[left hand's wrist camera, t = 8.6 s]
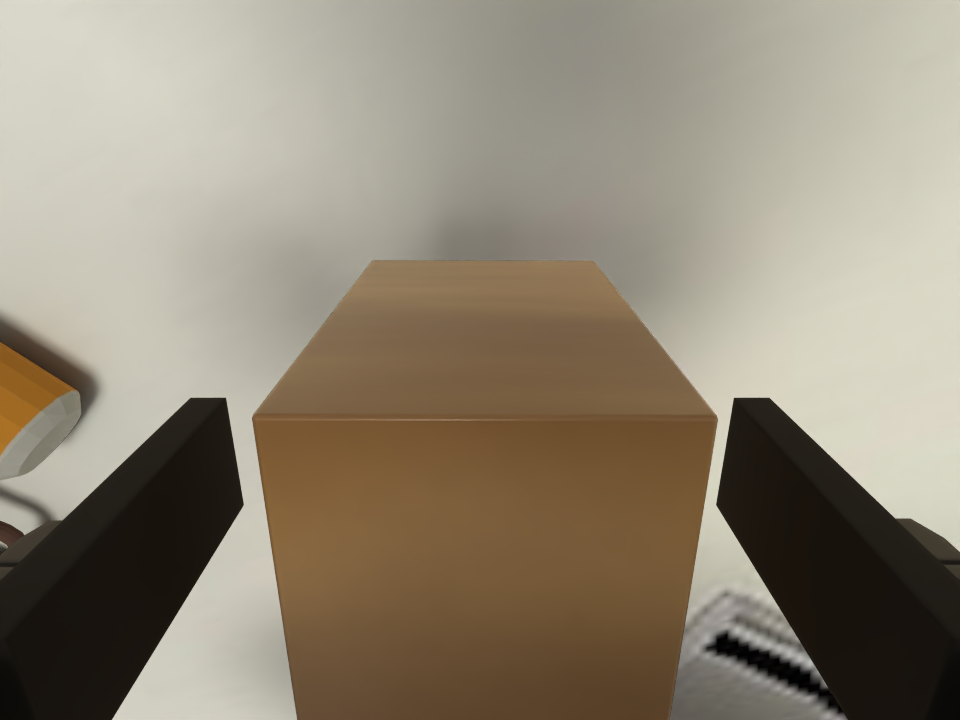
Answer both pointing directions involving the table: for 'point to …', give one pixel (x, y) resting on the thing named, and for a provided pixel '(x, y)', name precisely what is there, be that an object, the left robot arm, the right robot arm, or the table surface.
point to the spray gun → (30, 419)
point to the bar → (484, 499)
